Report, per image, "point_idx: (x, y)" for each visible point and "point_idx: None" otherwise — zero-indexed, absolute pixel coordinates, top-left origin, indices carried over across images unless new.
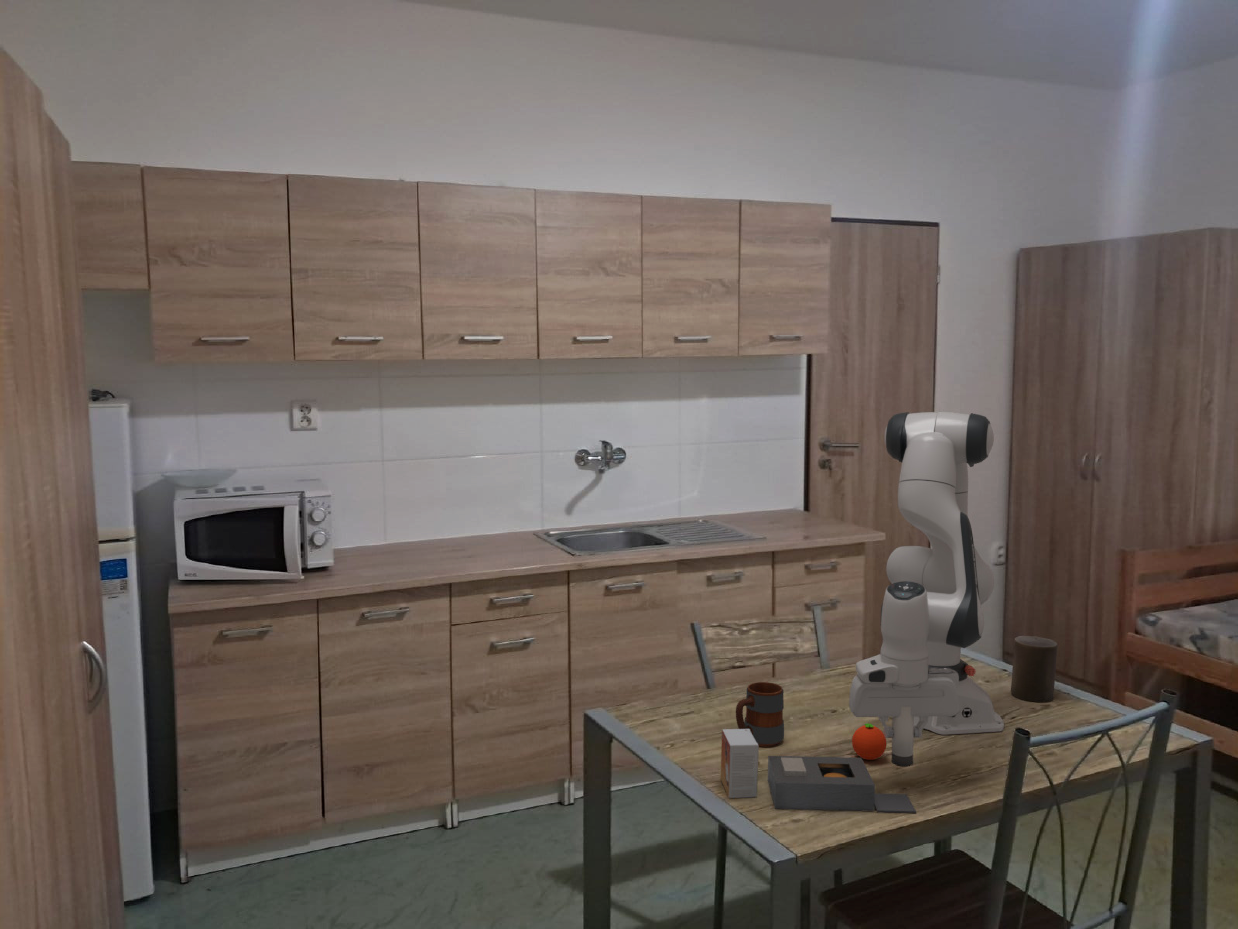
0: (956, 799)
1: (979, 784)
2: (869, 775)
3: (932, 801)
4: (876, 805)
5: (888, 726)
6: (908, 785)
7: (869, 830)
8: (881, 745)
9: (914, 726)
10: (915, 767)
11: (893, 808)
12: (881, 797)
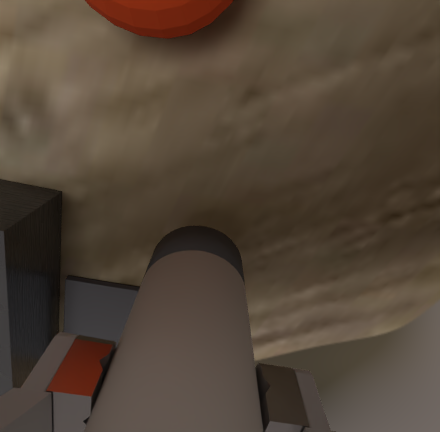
0: (307, 323)
1: (437, 258)
2: (8, 374)
3: None
4: None
5: (61, 398)
6: None
7: None
8: (192, 26)
9: (285, 429)
10: (325, 100)
11: None
12: (96, 306)
